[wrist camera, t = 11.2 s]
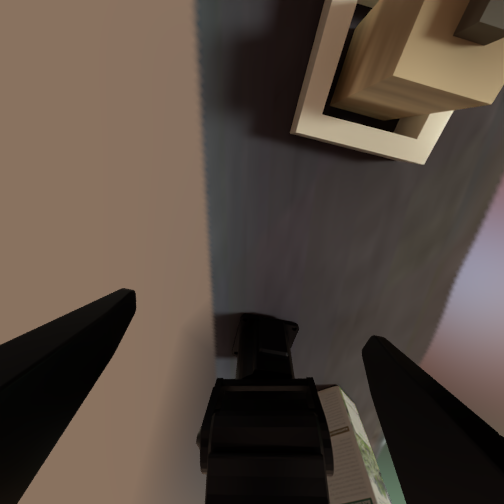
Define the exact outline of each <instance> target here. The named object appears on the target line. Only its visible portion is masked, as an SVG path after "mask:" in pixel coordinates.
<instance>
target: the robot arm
mask: <svg viewBox="0 0 504 504" xmlns="http://www.w3.org/2000/svg"><path fill="white" fill-rule="evenodd" d="M135 311H136V293H135V291H134V290H130V289H125V288H122V289H120V290H117V291H115V292H113V293H111V294H109V295H107V296H105V297H102V298H100V299H98V300H96V301H94V302H92V303H90V304H88V305H85V306H83V307H81V308H79V309H77V310H74V311H72V312H70V313H68V314H66V315H64V316H62V317H59V318H57V319H55V320H53V321H51V322H49V323H47V324H44V325H42V326H40V327H38V328H36V329H34V330H31V331H29V332H27V333H25V334H23V335H21V336H19V337H16V338H14V339H12V340H10V341H8V342H6V343H4V344H1V345H0V504H17V503H18V501H19V500H20V498H21V497H22V496H23V494H24V492H25V491H26V489H27V488H28V486H29V485H30V483H31V482H32V480H33V479H34V477H35V475H36V474H37V472H38V471H39V469H40V468H41V466H42V465H43V463H44V462H45V460H46V458H47V457H48V455H49V454H50V452H51V451H52V449H53V448H54V446H55V444H56V443H57V441H58V440H59V438H60V437H61V435H62V434H63V432H64V431H65V429H66V428H67V426H68V425H69V423H70V421H71V420H72V418H73V417H74V415H75V414H76V412H77V411H78V409H79V408H80V406H81V404H82V403H83V401H84V400H85V398H86V397H87V395H88V394H89V392H90V391H91V389H92V387H93V386H94V384H95V383H96V381H97V380H98V378H99V377H100V375H101V373H102V372H103V370H104V369H105V367H106V366H107V364H108V363H109V361H110V359H111V358H112V356H113V355H114V353H115V351H116V349H117V347H118V345H119V343H120V341H121V339H122V338H123V336H124V334H125V332H126V330H127V328H128V326H129V324H130V322H131V320H132V318H133V316H134V314H135ZM244 318H246V319H244ZM294 327H295V328H294ZM298 330H299V327H298V324H296V323H292V322H286V321H281V320H276V319H270V318H265V317H260V316H254V315H249V314H243V315H242V316H241V319H240V323H239V327H238V330H237V334H236V338H235V342H234V346H233V349H232V354H233V355H234V356H238V358H237V368H236V378H235V379H223V378H217V380H216V384H215V387H213V390H212V393H211V397H210V400H209V403H208V406H207V410H206V413H205V416H204V420H203V423H202V426H201V429H200V431H199V433H198V435H197V441H196V444H197V446H198V447H199V449H200V466H201V472H202V474H207V479H206V496H205V504H330V500H329V491H328V483H327V476H333V474H334V459H333V450H332V443H331V437H330V432H329V428H328V424H327V420H326V417H325V414H324V411H323V408H322V404H321V401H320V398H319V395H318V392H317V389H316V386H315V383H314V380H313V377H306V379H295V377H294V371H293V364H292V357H291V350H290V348H291V346H292V344H293V342H294V339H295V337H296V335H297V333H298ZM362 357H363V362H364V366H365V370H366V375H367V379H368V383H369V388H370V392H371V396H372V399H373V403H374V406H375V409H376V412H377V415H378V418H379V421H380V424H381V427H382V430H383V433H384V436H385V439H386V442H387V445H388V448H389V452H390V455H391V458H392V461H393V464H394V467H395V470H396V473H397V476H398V479H399V482H400V485H401V488H402V491H403V494H404V497H405V501H406V504H504V437H503V436H501V435H499V434H498V432H496V431H495V430H494V429H493V428H492V427H491V426H490V425H488V424H487V423H486V422H485V421H484V420H482V419H481V418H480V417H479V416H478V415H476V414H475V413H474V412H473V411H472V410H470V409H469V408H468V407H467V406H466V405H464V404H463V403H462V402H461V401H460V400H458V399H457V398H456V397H455V396H454V395H452V394H451V393H450V392H449V391H448V390H446V389H445V388H444V387H443V386H442V385H440V384H439V383H438V382H437V381H436V380H435V379H433V378H432V377H431V376H430V375H429V374H427V373H426V372H425V371H424V370H422V369H421V368H420V367H419V366H418V365H417V364H415V363H414V362H413V361H412V360H411V359H409V358H408V357H407V356H406V355H405V354H404V353H402V352H401V351H400V350H399V349H398V348H396V347H395V346H394V345H393V344H392V343H390V342H389V341H388V340H387V339H386V338H384V337H381V336H375V335H373V336H371V337H370V339H369V340H368V341H367V343H366V344H365V346H364V347H363V349H362Z"/></svg>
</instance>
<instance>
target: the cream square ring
mask: <svg viewBox="0 0 504 504" xmlns="http://www.w3.org/2000/svg"><path fill="white" fill-rule="evenodd" d="M378 1H379V0H325V2H324V5H323V9H322V13H321V17H320V20H319V24H318V28H317V32H316V36H315V39H314V43H313V47H312V51H311V55H310V58H309V62H308V66H307V70H306V74H305V77H304V81H303V85H302V89H301V93H300V96H299V100H298V104H297V108H296V111H295V115H294V119H293V123H292V127H291V130H290V134H294V135H298V136H302V137H306V138H310V139H314V140H318V141H321V142H325V143H329V144H333V145H337V146H341V147H345V148H349V149H353V150H357V151H361V152H365V153H369V154H373V155H377V156H381V157H385V158H389V159H393V160H397V161H403V162H409V163H416V164H422V165H424V164H425V162H426V160H427V158H428V156H429V154H430V153H431V151H432V149H433V147H434V145H435V144H436V142H437V140H438V138H439V136H440V134H441V133H442V131H443V129H444V127H445V125H446V123H447V122H448V120H449V118H450V116H451V114H452V113H453V111H454V110H452V111H445V112H438V113H432V114H425V115H418V116H412V117H405V118H400V119H399V121H398V124H397V126H396V128H395V130H394V132H393V133H391V132H387V131H384V130H380V129H376V128H372V127H368V126H365V125H361V124H357V123H353V122H349V121H346V120H342V119H338V118H334V117H330V116H326V115H323V114H322V113H323V110H324V106H325V103H326V100H327V97H328V94H329V90H330V87H331V84H332V81H333V78H334V74H335V71H336V68H337V65H338V62H339V58H340V55H341V52H342V49H343V46H344V43H345V39H346V36H347V33H348V30H349V27H350V23H351V20H352V17H353V14H354V11H355V7H356V4H361V5H364V6H367V7H371V8H373V7H374V6H375V5H376V4H377V2H378Z"/></svg>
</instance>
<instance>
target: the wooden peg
mask: <svg viewBox="0 0 504 504" xmlns="http://www.w3.org/2000/svg"><path fill="white" fill-rule="evenodd" d="M503 85H504V0H379V1H378V2H377V4H376V5H375V6H374V7H373V8H372V9H371V11H370V12H369V13H368V14H367V15H366V16H365V18H364V19H363V20H362V21H361V22H360V23H359V25H358V26H357V27H356V28H355V30H354V33H353V36H352V39H351V42H350V45H349V48H348V51H347V54H346V57H345V61H344V64H343V67H342V70H341V73H340V76H339V79H338V82H337V85H336V88H335V91H334V94H333V97H332V100H331V103H330V106H332V107H336V108H339V109H343V110H347V111H350V112H354V113H357V114H361V115H365V116H368V117H372V118H375V119H379V120H383V121H385V120H392V119H398V118H405V117H412V116H418V115H425V114H432V113H438V112H445V111H452V110H458V109H465V108H471V107H478V106H485V105H491V104H492V103H493V101H494V99H495V98H496V96H497V95H498V93H499V91H500V90H501V88H502V86H503Z"/></svg>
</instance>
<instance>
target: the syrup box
mask: <svg viewBox="0 0 504 504" xmlns="http://www.w3.org/2000/svg"><path fill="white" fill-rule="evenodd" d="M318 395H319V398H320V401H321V404H322V408H323V411H324V414H325V417H326V420H327V424H328V428H329V432H330V437H331V443H332V450H333V459H334V474H333V476H327V483H328V491H329V500H330V504H392V502H391V500H390V497H389V495H388V492H387V489H386V487H385V484H384V481H383V479H382V476H381V473H380V470H379V468H378V465H377V462H376V460H375V457H374V454H373V451H372V449H371V446H370V443H369V441H368V438H367V435H366V433H365V430H364V427H363V425H362V422H361V419H360V416H359V414H358V411H357V408H356V406H355V404H354V403H353V402H352V401H351V399H350V398H349V397H348V396H347V395H346V394H345V393H344V392H343V391H342V389H341V388H340V387H339V386H334V387H330V388H327V389H324V390H321V391H318Z"/></svg>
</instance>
